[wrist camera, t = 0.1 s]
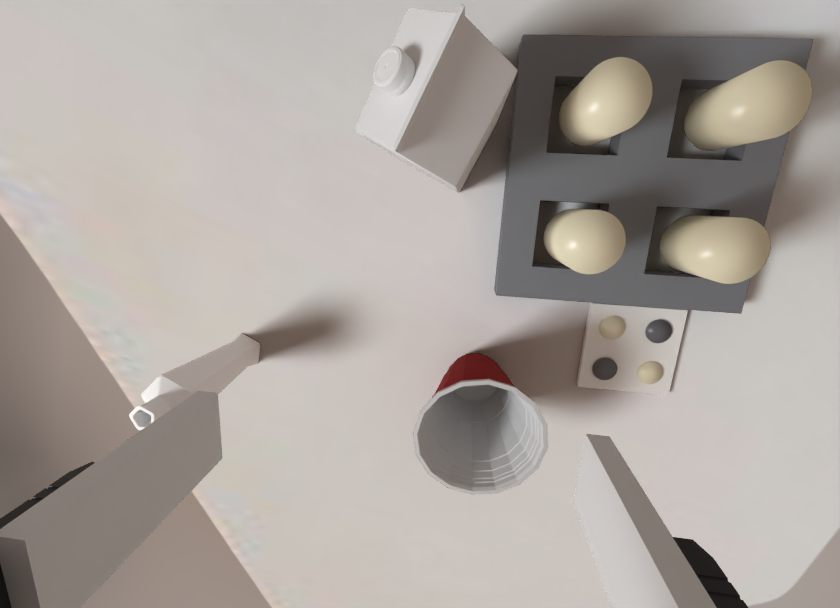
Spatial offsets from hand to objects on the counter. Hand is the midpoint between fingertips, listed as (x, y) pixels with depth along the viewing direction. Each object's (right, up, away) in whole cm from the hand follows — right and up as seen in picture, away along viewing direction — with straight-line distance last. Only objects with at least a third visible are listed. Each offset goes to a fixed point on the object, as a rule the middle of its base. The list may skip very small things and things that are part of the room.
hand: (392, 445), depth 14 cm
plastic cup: (+7, -3, +29) cm, 30 cm away
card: (+22, +1, +26) cm, 34 cm away
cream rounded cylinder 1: (+15, +21, +19) cm, 32 cm away
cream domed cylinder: (+24, +10, +21) cm, 33 cm away
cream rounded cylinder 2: (+25, +20, +18) cm, 37 cm away
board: (+20, +16, +23) cm, 34 cm away
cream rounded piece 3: (+15, +11, +22) cm, 28 cm away
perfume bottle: (-19, 0, +31) cm, 36 cm away
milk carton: (+3, +21, +24) cm, 32 cm away
